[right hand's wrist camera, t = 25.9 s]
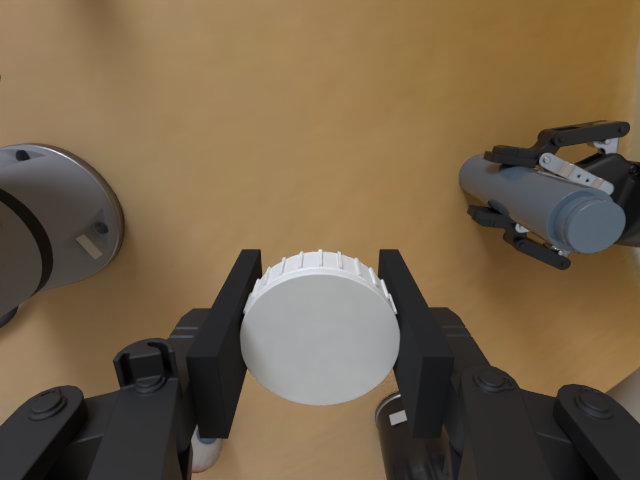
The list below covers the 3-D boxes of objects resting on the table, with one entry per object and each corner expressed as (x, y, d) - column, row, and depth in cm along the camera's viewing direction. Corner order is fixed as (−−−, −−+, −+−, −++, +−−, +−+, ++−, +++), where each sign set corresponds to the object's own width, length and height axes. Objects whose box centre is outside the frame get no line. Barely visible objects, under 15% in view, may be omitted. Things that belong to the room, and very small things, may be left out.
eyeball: (234, 420, 50) (223, 460, 44) (216, 447, 52) (204, 489, 46) (195, 404, 48) (179, 443, 43) (178, 433, 50) (161, 474, 45)
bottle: (451, 186, 37) (546, 247, 22) (471, 148, 36) (589, 182, 20) (486, 200, 38) (603, 269, 22) (508, 163, 37) (649, 208, 21)
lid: (292, 390, 14) (288, 427, 12) (218, 287, 12) (204, 315, 10) (414, 340, 13) (427, 373, 11) (354, 222, 11) (359, 241, 9)
